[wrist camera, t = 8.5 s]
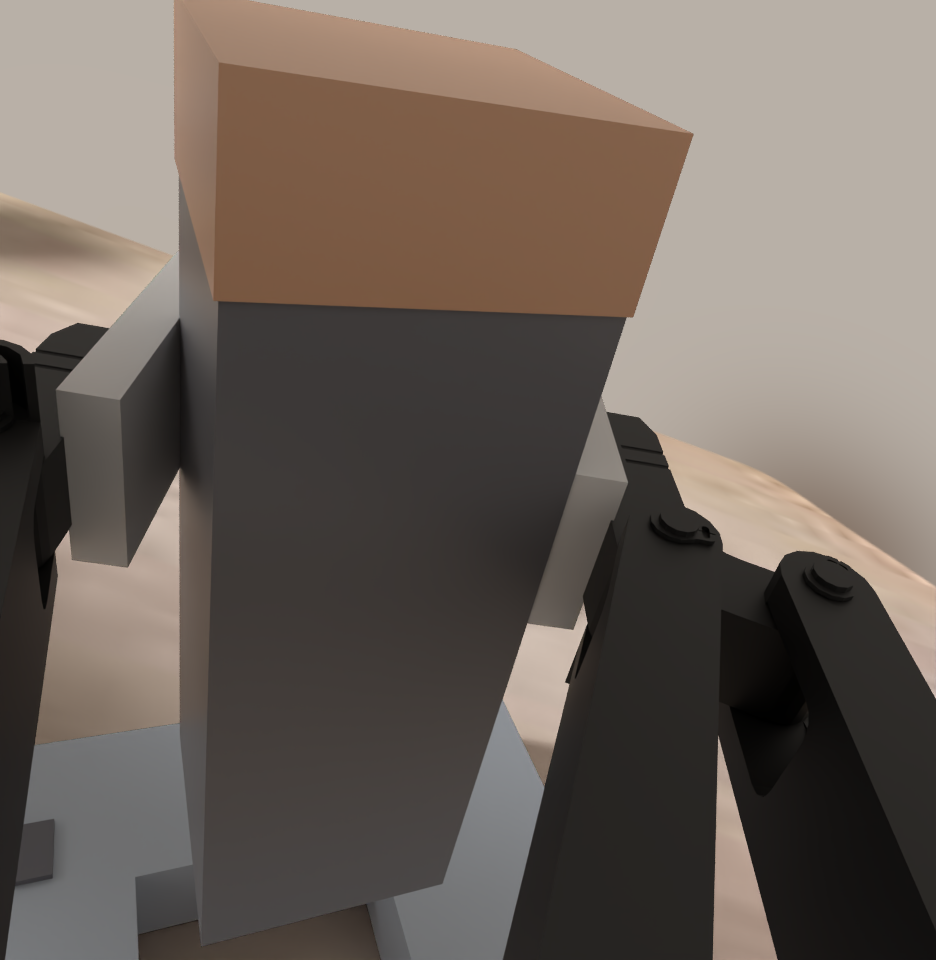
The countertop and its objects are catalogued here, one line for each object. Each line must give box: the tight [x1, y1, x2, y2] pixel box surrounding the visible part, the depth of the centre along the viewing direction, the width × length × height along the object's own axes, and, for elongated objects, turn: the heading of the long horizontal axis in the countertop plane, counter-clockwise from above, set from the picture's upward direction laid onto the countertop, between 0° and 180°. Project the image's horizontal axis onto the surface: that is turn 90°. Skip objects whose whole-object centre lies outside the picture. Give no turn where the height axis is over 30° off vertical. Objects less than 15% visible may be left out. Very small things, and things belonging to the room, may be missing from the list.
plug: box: [174, 0, 693, 946], centre depth 13 cm, size 5×5×14 cm
